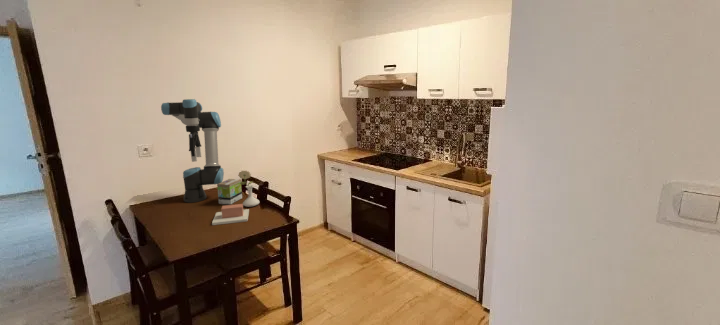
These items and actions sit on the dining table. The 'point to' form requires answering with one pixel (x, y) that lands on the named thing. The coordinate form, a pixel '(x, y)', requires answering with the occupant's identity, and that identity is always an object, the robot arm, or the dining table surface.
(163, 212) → the dining table surface
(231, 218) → the grey board
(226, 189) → the tea box
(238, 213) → the brick block
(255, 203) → the flower in vase
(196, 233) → the dining table surface
